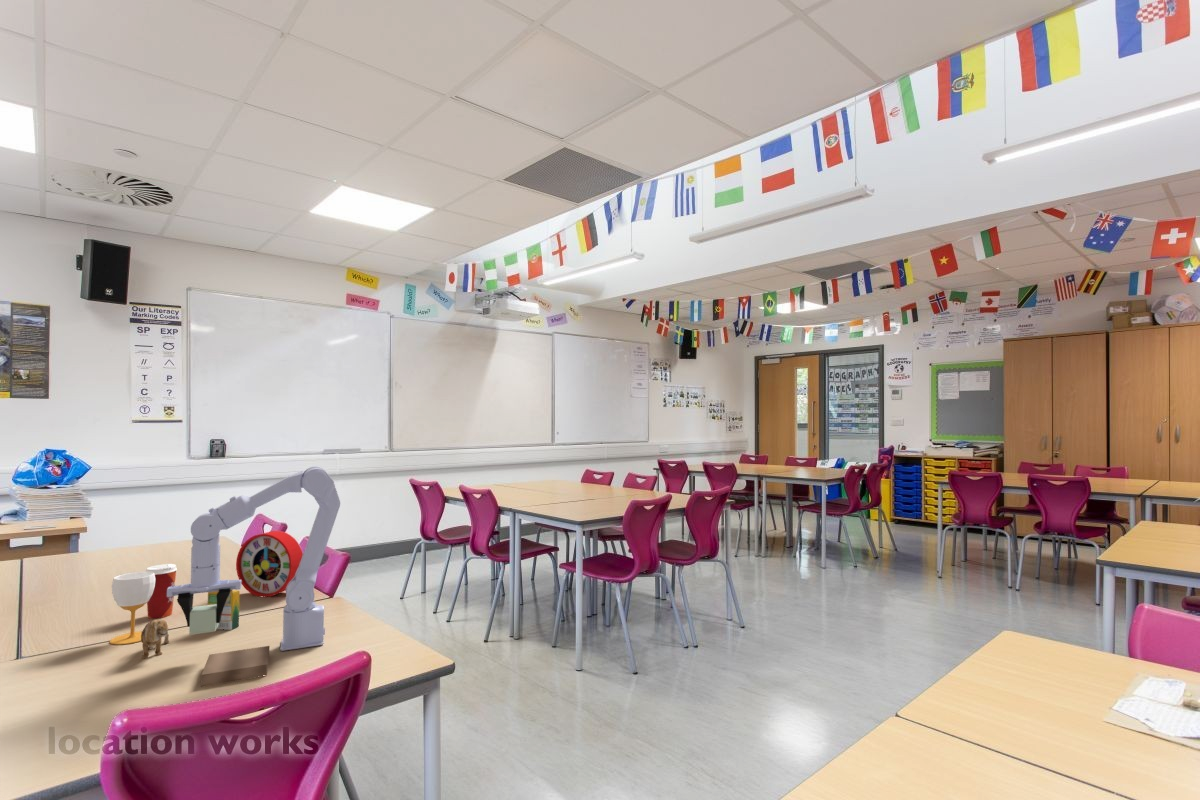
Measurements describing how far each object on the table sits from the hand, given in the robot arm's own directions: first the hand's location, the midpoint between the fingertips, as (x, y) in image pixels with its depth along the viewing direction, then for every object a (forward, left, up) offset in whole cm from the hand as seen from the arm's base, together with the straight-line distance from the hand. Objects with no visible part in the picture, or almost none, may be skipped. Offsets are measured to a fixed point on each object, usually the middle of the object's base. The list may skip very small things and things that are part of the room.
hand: (204, 623), depth 138 cm
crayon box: (-1, -23, -8) cm, 25 cm away
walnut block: (-8, +11, -9) cm, 16 cm away
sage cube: (0, 0, -1) cm, 1 cm away
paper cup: (+17, -43, -8) cm, 47 cm away
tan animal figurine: (+11, -10, -8) cm, 17 cm away
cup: (+19, -24, -8) cm, 32 cm away
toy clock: (-10, -53, -8) cm, 55 cm away
